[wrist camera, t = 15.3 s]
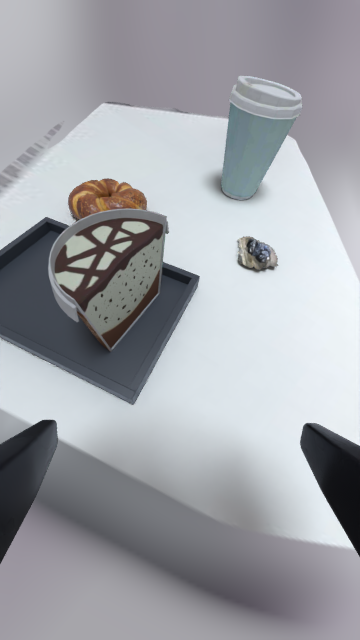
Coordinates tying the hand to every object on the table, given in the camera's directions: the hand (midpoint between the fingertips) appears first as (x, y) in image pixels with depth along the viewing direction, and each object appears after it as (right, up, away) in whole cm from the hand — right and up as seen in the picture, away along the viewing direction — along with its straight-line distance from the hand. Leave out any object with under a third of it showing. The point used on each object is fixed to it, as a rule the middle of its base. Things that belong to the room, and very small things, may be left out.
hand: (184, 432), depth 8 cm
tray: (-12, +7, +19) cm, 24 cm away
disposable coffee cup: (+11, +29, +36) cm, 47 cm away
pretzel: (-12, +22, +29) cm, 38 cm away
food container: (-8, +5, +18) cm, 21 cm away
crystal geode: (+11, +14, +26) cm, 32 cm away
